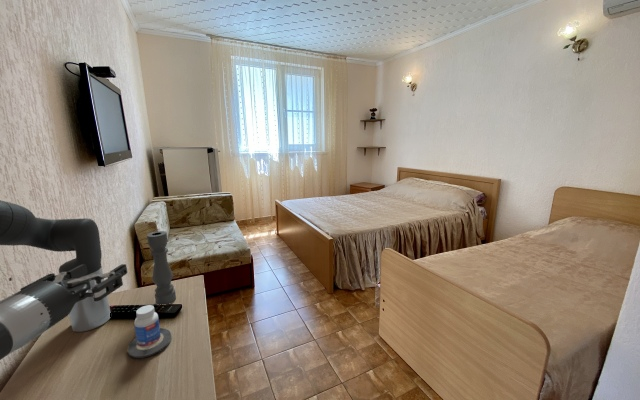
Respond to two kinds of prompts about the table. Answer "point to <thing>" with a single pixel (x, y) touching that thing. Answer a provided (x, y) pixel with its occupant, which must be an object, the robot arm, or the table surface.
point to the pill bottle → (147, 326)
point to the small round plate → (148, 351)
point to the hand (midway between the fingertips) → (105, 268)
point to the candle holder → (161, 268)
